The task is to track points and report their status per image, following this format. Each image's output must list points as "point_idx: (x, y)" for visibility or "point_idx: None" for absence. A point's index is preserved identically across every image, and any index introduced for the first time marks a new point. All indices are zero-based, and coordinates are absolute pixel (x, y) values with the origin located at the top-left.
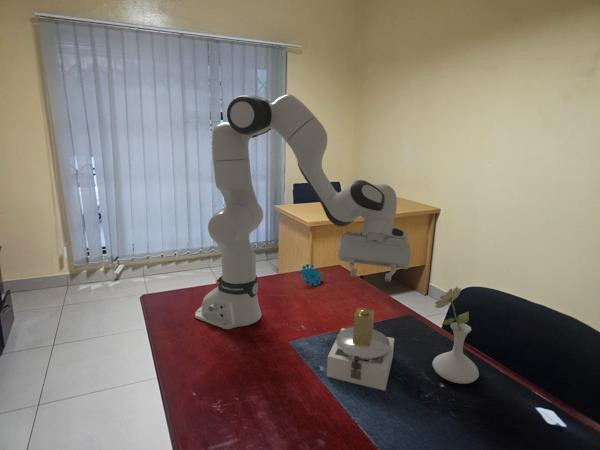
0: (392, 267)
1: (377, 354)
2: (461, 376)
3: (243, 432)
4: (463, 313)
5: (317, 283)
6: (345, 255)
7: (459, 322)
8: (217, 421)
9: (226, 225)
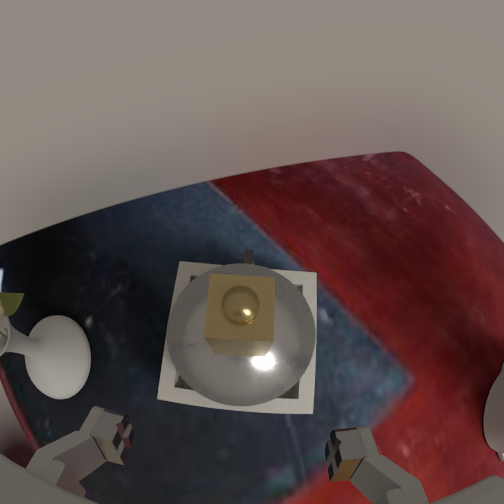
0: (56, 460)
1: (198, 277)
2: (52, 317)
3: (364, 167)
4: None
5: None
6: (469, 493)
7: None
8: (398, 175)
9: None
